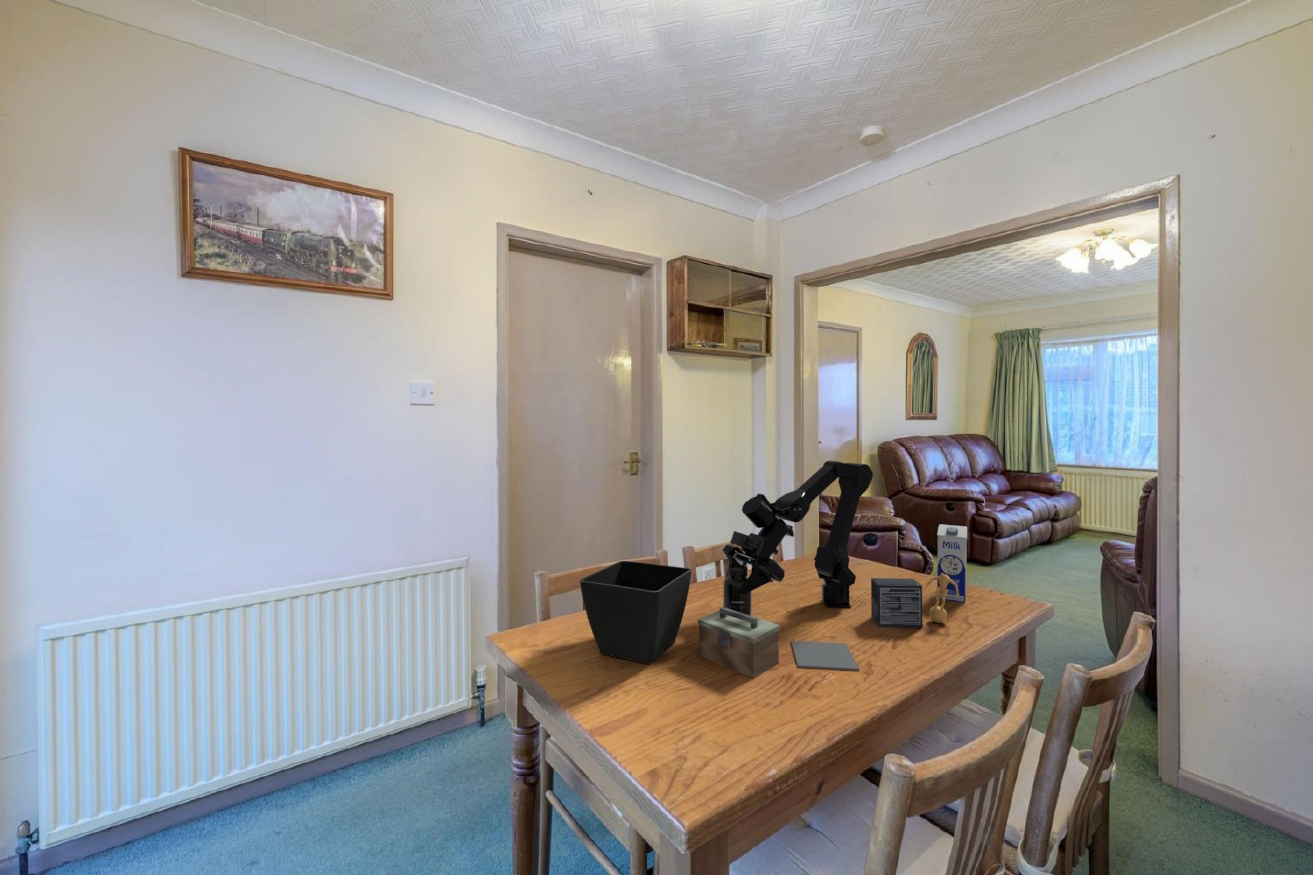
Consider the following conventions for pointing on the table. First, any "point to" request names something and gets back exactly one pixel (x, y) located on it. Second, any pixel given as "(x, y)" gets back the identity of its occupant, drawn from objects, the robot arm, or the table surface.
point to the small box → (896, 602)
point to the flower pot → (636, 608)
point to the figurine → (937, 611)
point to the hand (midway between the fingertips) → (732, 589)
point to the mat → (823, 655)
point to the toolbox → (739, 641)
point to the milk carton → (952, 559)
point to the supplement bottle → (737, 590)
